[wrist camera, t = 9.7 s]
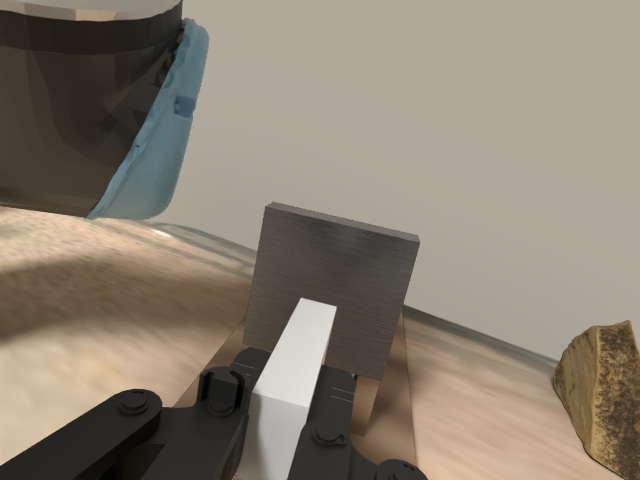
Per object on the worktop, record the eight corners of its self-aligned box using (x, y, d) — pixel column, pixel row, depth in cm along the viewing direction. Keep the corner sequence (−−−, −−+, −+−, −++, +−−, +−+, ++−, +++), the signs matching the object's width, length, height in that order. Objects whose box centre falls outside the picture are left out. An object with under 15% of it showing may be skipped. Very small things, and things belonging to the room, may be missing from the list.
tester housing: (410, 500, 22) (454, 364, 20) (170, 429, 24) (187, 294, 22) (398, 318, 46) (418, 245, 43) (276, 287, 47) (290, 215, 45)
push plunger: (364, 443, 24) (420, 242, 20) (231, 405, 24) (265, 206, 21) (370, 366, 32) (410, 213, 28) (269, 339, 32) (298, 188, 29)
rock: (530, 346, 40) (508, 367, 32) (621, 302, 36) (622, 313, 28) (607, 461, 36) (604, 518, 28) (719, 425, 32) (753, 480, 24)
